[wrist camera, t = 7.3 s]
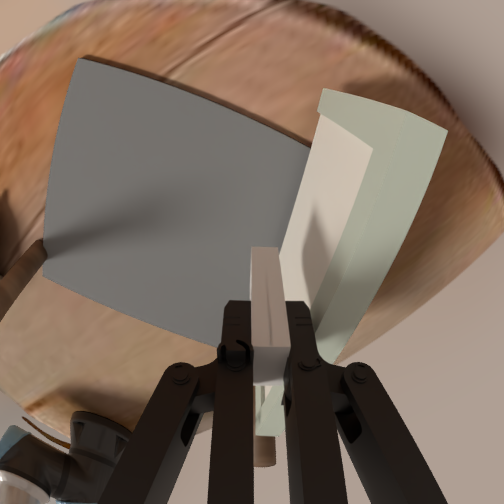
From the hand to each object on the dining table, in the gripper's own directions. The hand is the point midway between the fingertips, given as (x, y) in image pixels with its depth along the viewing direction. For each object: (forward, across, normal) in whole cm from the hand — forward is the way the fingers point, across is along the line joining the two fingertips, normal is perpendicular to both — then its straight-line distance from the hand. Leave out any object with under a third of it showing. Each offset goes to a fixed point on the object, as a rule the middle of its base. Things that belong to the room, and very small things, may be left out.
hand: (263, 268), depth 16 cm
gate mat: (+10, -7, -4) cm, 12 cm away
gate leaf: (+8, +3, -2) cm, 9 cm away
